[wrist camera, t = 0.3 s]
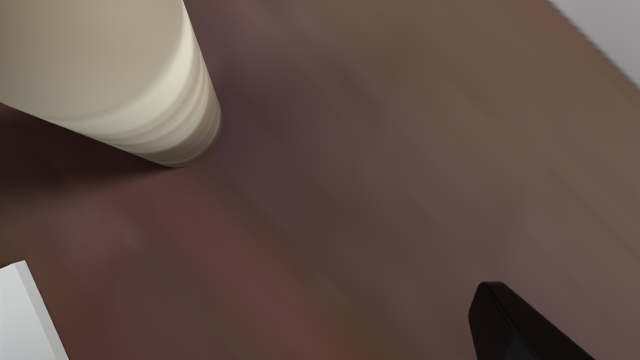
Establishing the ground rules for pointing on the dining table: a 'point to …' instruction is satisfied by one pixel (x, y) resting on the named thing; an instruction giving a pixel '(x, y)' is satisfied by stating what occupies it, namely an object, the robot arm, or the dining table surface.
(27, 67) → the peg
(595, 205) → the dining table surface
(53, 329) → the socket block
